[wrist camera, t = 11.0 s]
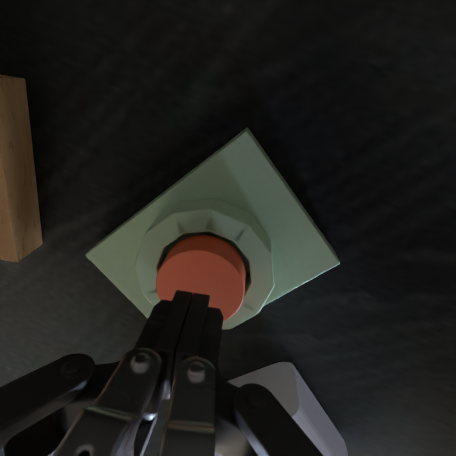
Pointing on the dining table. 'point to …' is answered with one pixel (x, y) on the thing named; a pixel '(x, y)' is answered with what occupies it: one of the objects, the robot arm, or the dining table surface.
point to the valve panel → (17, 174)
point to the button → (204, 272)
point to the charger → (297, 405)
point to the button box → (221, 230)
